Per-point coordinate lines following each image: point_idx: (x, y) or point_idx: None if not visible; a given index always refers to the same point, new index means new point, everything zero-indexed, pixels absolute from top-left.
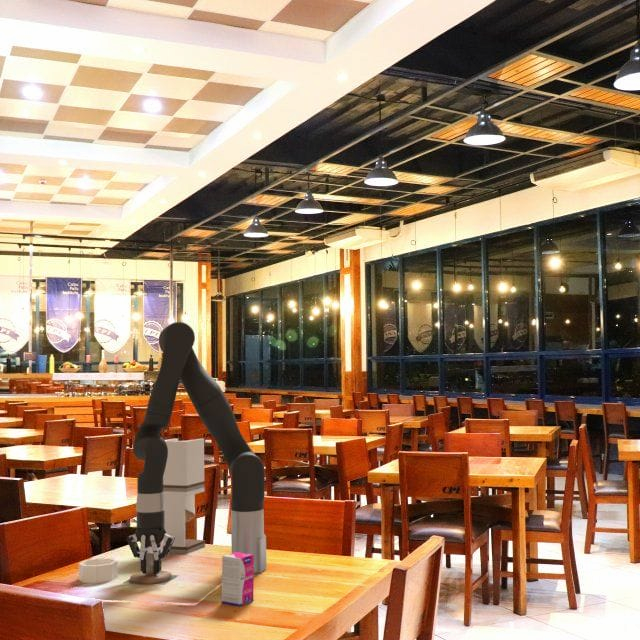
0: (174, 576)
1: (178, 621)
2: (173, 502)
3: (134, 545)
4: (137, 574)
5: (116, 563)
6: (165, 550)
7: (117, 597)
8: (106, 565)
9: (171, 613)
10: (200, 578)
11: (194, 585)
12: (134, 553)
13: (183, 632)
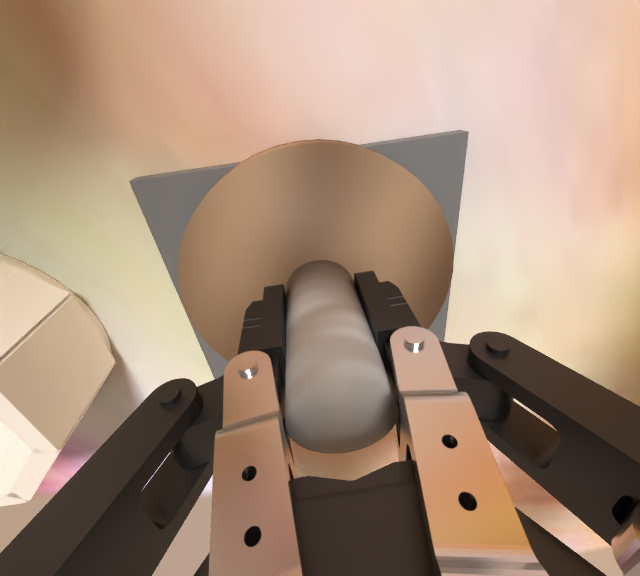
0: (446, 176)
1: (561, 526)
2: None
3: (141, 566)
4: (214, 296)
5: (14, 380)
6: (547, 457)
7: (318, 472)
8: (51, 465)
9: (537, 505)
10: (627, 108)
11: (588, 276)
12: (185, 472)
13: (577, 549)
